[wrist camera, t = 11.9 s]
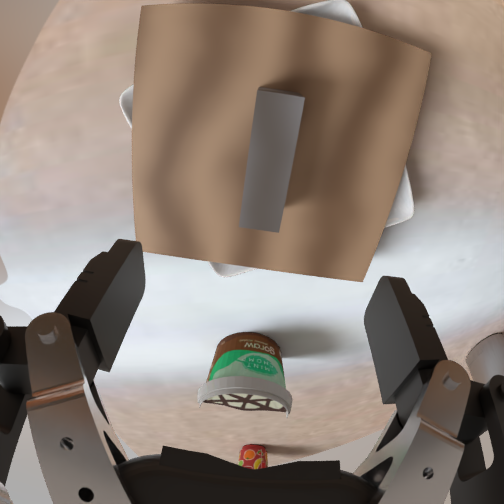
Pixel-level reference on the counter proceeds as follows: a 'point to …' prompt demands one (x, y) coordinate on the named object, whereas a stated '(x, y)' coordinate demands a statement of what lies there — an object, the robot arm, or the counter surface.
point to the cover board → (219, 127)
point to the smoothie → (253, 457)
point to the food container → (247, 375)
